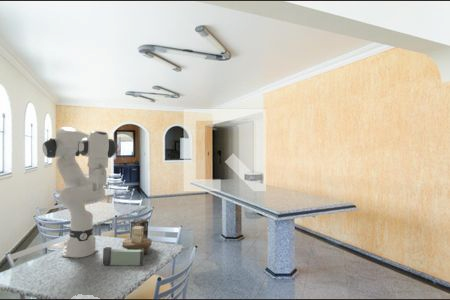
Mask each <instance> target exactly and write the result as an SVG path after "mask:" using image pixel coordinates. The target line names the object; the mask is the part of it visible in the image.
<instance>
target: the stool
mask: <svg viewBox="0 0 450 300" xmlns="http://www.w3.org/2000/svg"><path fill="white" fill-rule="evenodd" d="M131 241H132V238H130V237H128V238H126V239H123V241H122V248H124V250H144V255H148V254H149V248H150V247H151V246H152V243H153V242H152V241H153V240H152V239H151V238H149V237H148V238H143V241H142V242H141V243H131Z"/></svg>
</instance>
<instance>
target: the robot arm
mask: <svg viewBox="0 0 450 300" xmlns="http://www.w3.org/2000/svg"><path fill="white" fill-rule="evenodd" d="M41 149H42V152H43V154H44V156H45V157H46V158H48V159H54V158H57V160H56V167H57V169H58V172H59V175H60V176H61V179H62V180H63V182H64V184H65V185H66V186H67V187H65V188H63V189H61V190H60V192H59V197H58V200H59V202H60V203H61V205H62V206H64V207H65V208H66V209H67V210H68V212H69V215H70V230H69V237H68V239H67V240H66V241H64V243H63V245H64V246H63V249H62V254H61V257H63V258H64V257H65V258H72V259H73V258H75V259H78V258H84V257H88V256H92V255H93V254H95V253H96V252H98V251H99V248H98V247H96V237H95V236H94V227H93V223H94V221H93V220H94V216H93V213H92V212H90V211H88V210H86V205H91V204H96V203H99V202H101V201H103V200H104V198H105V197H106V190H105V188H104V186H106V184H107V169H108V168H109V158H113V157H114V156H115V154H116V153H117V152H118V146H117V143H116V142H115V141H114V140H113V139H112V138H109V135H108V132H106V131H102V130H93V131H90V133H89V134H88V133H86V132H83V131H81V130H78V129H76V128H74V127H71V126H64V127H63V126H62V127H60V128H59V129H58V130H56V137H55V138H52V137H51V138H49V139H47V140H46V141H44V142H43V144H42V147H41ZM80 155H81V156H82V157H87V158H88V160H87V161H88V162H87V168H88V177H87V176H86V174H85V173H84V171H83V170H82V167H80V165H79V163H78V162H77V160H76V157H79V156H80Z"/></svg>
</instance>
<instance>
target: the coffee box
mask: <svg viewBox="0 0 450 300" xmlns="http://www.w3.org/2000/svg"><path fill="white" fill-rule="evenodd" d="M135 226H140V227H144V229H143V238H149V237H148V234H149V231H148V230H149V220H146V219H142V218H141V219H138V220H137V219H136V220H132V221H130V229H129V230H130V231H129V232H130V233H129V238H132V228H133V227H135Z"/></svg>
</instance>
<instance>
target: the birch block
mask: <svg viewBox="0 0 450 300" xmlns="http://www.w3.org/2000/svg"><path fill="white" fill-rule="evenodd" d="M143 229H144V227H140V226H135V227H133V228H132V241H131V243H141V242H142V241H143Z"/></svg>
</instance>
